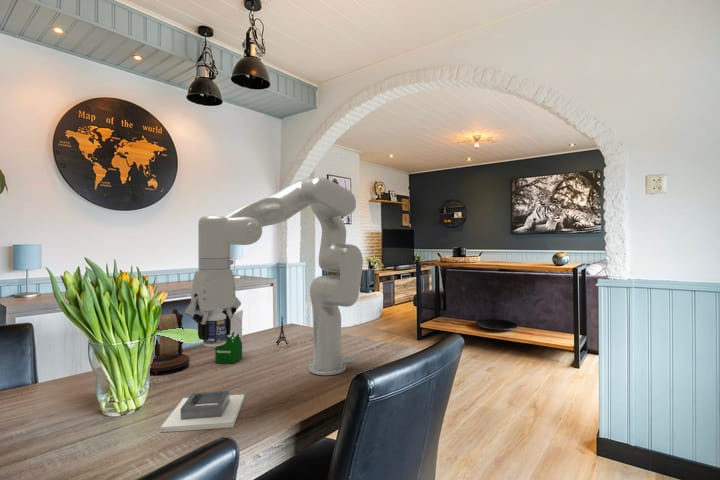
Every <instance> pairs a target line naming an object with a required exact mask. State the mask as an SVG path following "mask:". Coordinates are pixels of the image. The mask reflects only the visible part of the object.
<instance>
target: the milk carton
mask: <svg viewBox="0 0 720 480" xmlns="http://www.w3.org/2000/svg"><path fill="white" fill-rule="evenodd" d="M243 312H244V310H243V309H237V310H236V312H235V313H234V315H233V318H232V319H231V330H230V335H226V343H225V344H224V345H221V346H214V350H215V351H214V354H215V356H214V357H215V361H214V362H215V364H222V365H223V364H227V365H229V364H230V365H235V364H236V363H237V362H239V361H240V360H241V359H242V358H243Z"/></svg>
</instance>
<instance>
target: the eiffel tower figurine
mask: <svg viewBox="0 0 720 480" xmlns="http://www.w3.org/2000/svg"><path fill="white" fill-rule="evenodd" d="M283 317H284V316H281V319H280V320H281V321H280V323H281V324H280V331H279V336H278V338H277V339H276V341H277V342H276V343H277V346H278V345H279V343H280V342H281V341H285V342H286V344H287V345H288V344H289V343H287V341H288V340H287V337H286V336H285V331H284V322H283Z"/></svg>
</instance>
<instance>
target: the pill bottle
mask: <svg viewBox="0 0 720 480" xmlns="http://www.w3.org/2000/svg"><path fill="white" fill-rule="evenodd" d="M222 311H223V309H217V310H215V311H211V312H209V314H208V318H207V321H206V324H208V340H206V341H205V340H203V346H205V347H211V348H212V347H213V348H215V346H221V345H224V344H225V343H226V315H225V314H224V313H222Z"/></svg>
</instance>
